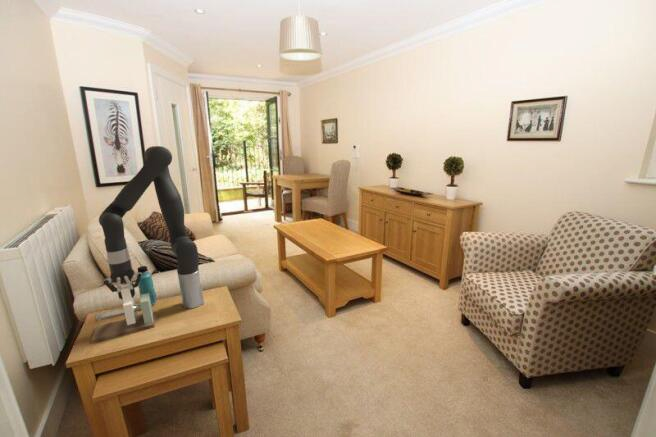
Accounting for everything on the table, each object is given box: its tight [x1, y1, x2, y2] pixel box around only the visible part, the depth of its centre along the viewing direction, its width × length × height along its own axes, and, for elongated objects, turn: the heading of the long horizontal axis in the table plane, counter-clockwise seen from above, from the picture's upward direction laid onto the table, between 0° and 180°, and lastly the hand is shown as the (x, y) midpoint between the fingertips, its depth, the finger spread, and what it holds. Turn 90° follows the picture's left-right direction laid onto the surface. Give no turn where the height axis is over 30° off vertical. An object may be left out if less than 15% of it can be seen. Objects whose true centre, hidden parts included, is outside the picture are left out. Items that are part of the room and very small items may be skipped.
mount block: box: [139, 293, 154, 324], centre depth 135 cm, size 3×8×10 cm, turn 27°
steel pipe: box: [95, 303, 142, 321], centre depth 131 cm, size 18×3×3 cm, turn 117°
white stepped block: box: [121, 284, 138, 325], centre depth 132 cm, size 3×9×15 cm, turn 27°
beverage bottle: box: [137, 265, 157, 305], centre depth 149 cm, size 6×7×20 cm
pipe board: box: [91, 311, 156, 344], centre depth 133 cm, size 22×11×2 cm, turn 117°
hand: (127, 297), depth 131 cm, fingers closed on white stepped block, 3 cm apart
